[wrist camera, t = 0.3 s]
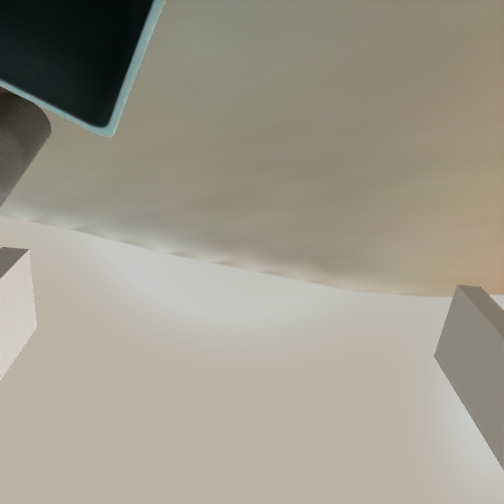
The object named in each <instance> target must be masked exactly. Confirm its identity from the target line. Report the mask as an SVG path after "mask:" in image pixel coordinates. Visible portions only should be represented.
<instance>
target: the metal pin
mask: <svg viewBox="0 0 504 504" xmlns="http://www.w3.org/2000/svg"><path fill="white" fill-rule="evenodd" d="M50 133H51V126H50V123H49V120H48V119H47V117H46V115H45V114H44V113H43V112H42V110H41V109H40V108H39V107H37V106H36V105H35V104H34V103H32V102H31V101H29V100H27V99H25V98H23V97H21V96H18V95H13V94H4V95H0V208H1V206H2V205H3V203H4V202H5V200H6V199H7V197H8V196H9V195H10V193H11V192H12V190H13V189H14V187H15V186H16V184H17V183H18V181H19V180H20V178H21V177H22V175H23V174H24V173H25V171H26V170H27V168H28V167H29V165H30V164H31V162H32V161H33V159H34V158H35V156H36V155H37V153H38V152H39V151H40V149H41V148H42V146H43V145H44V143H45V142H46V140H47V139H48V137H49V136H50Z"/></svg>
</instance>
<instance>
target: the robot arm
mask: <svg viewBox="0 0 504 504" xmlns="http://www.w3.org/2000/svg"><path fill="white" fill-rule="evenodd" d="M36 328H37V324H36V314H35V304H34V294H33V283H32V273H31V264H30V254H29V249H19V248H6V247H2V248H1V249H0V380H1V379H2V377H3V376H4V374H5V373H6V371H7V370H8V369H9V367H10V366H11V364H12V363H13V361H14V360H15V359H16V357H17V356H18V354H19V353H20V351H21V350H22V348H23V347H24V345H25V344H26V343H27V341H28V340H29V338H30V337H31V335H32V334H33V332H34V331H35V330H36ZM434 357H435V359H436V360H437V362H438V364H439V365H440V366H441V368H442V370H443V372H444V373H445V375H446V377H447V378H448V380H449V381H450V383H451V385H452V386H453V388H454V390H455V391H456V393H457V395H458V396H459V398H460V400H461V401H462V403H463V404H464V406H465V408H466V409H467V411H468V413H469V414H470V416H471V417H472V419H473V421H474V422H475V424H476V426H477V427H478V429H479V431H480V432H481V434H482V435H483V437H484V439H485V440H486V442H487V444H488V445H489V447H490V449H491V450H492V452H493V453H494V455H495V457H496V458H497V460H498V462H499V463H500V465H501V467H502V468H503V470H504V311H503V309H502V308H500V306H499V305H498V304H497V303H496V302H495V301H494V300H493V299H492V298H491V297H490V296H489V295H488V294H487V293H486V292H485V291H484V290H483V289H482V288H481V287H477V286H465V285H457V287H456V290H455V293H454V296H453V299H452V302H451V305H450V308H449V312H448V315H447V318H446V321H445V324H444V327H443V330H442V333H441V336H440V339H439V342H438V345H437V349H436V352H435V355H434Z"/></svg>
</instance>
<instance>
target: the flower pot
mask: <svg viewBox="0 0 504 504" xmlns="http://www.w3.org/2000/svg"><path fill="white" fill-rule="evenodd" d="M165 2H166V0H0V86H1V87H3V88H5V89H7V90H9V91H11V92H13V93H15V94H17V95H19V96H21V97H23V98H25V99H27V100H29V101H32V102H33V103H36V104H38V105H40V106H42V107H44V108H46V109H48V110H50V111H52V112H54V113H56V114H58V115H60V116H62V117H64V118H66V119H68V120H70V121H72V122H74V123H76V124H78V125H79V126H81V127H83V128H85V129H87V130H88V131H90V132H93V133H95V134H98V135H101V136H105V137H112V136H113V135H114V134H115V132H116V130H117V127H118V124H119V122H120V119H121V116H122V114H123V111H124V108H125V106H126V103H127V100H128V98H129V95H130V93H131V90H132V87H133V85H134V82H135V80H136V77H137V75H138V72H139V69H140V67H141V64H142V62H143V59H144V57H145V54H146V52H147V49H148V46H149V44H150V41H151V39H152V36H153V33H154V31H155V28H156V25H157V23H158V20H159V18H160V15H161V12H162V10H163V7H164V5H165Z"/></svg>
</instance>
